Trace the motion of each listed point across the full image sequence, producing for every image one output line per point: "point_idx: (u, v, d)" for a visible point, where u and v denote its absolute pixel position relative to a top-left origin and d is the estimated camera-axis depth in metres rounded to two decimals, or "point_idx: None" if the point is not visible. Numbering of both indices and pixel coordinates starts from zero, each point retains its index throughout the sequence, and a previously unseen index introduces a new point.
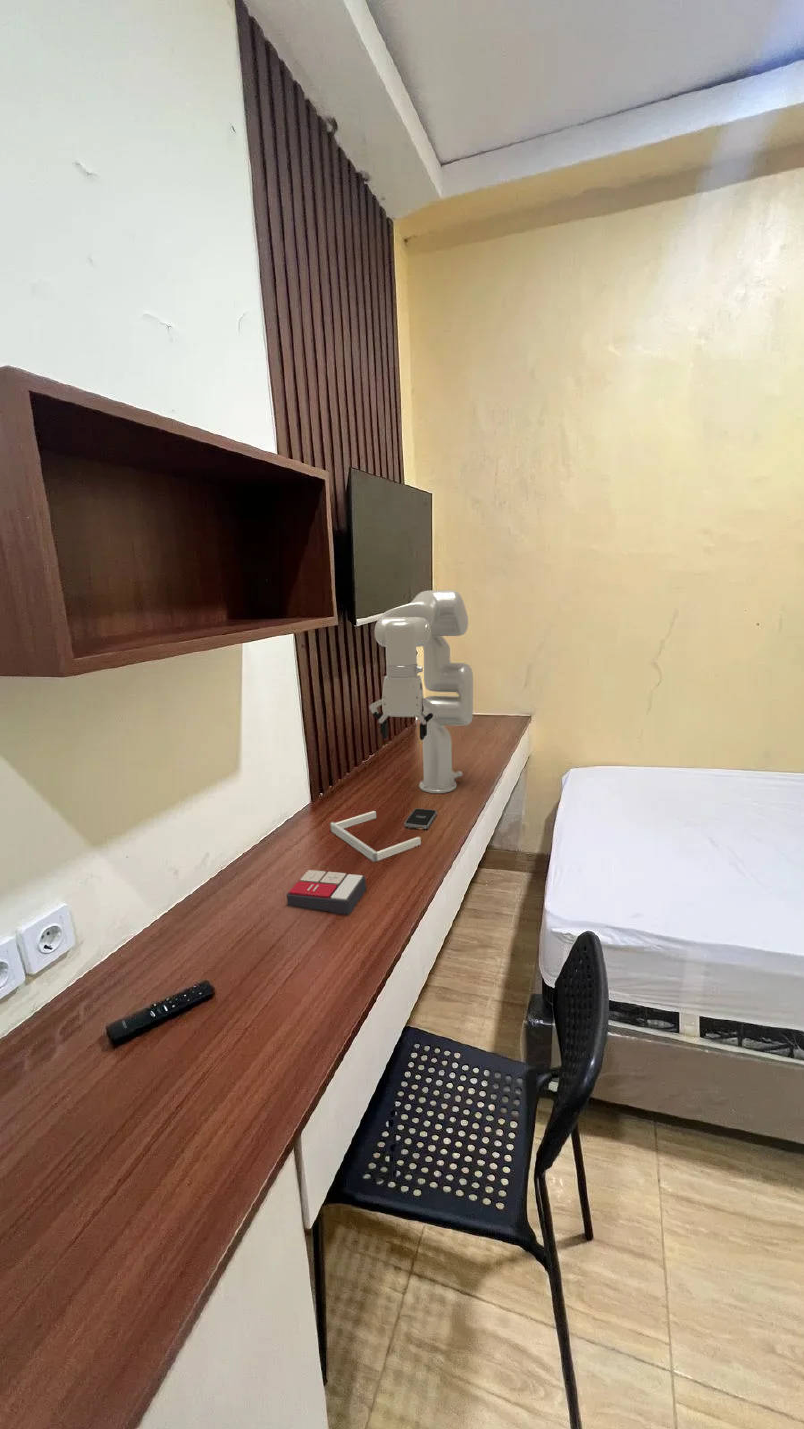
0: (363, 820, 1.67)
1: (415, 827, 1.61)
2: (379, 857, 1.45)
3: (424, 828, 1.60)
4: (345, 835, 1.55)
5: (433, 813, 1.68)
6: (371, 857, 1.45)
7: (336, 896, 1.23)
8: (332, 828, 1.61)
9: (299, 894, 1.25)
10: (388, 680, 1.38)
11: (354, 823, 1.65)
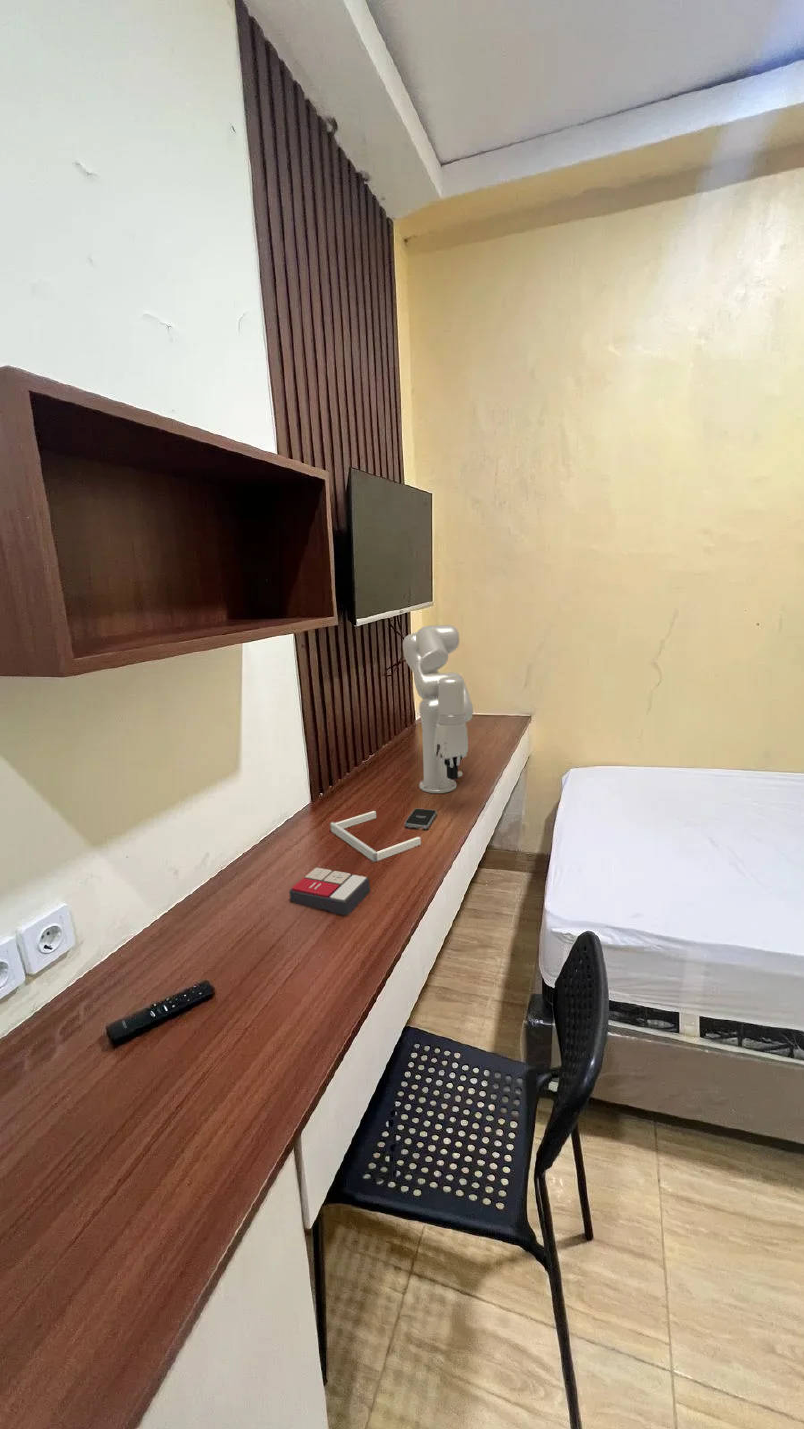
0: (363, 820, 1.67)
1: (415, 827, 1.61)
2: (379, 857, 1.45)
3: (424, 828, 1.61)
4: (345, 835, 1.55)
5: (433, 813, 1.68)
6: (371, 857, 1.45)
7: (335, 896, 1.23)
8: (332, 828, 1.61)
9: (301, 891, 1.27)
10: (448, 728, 1.63)
11: (354, 823, 1.65)
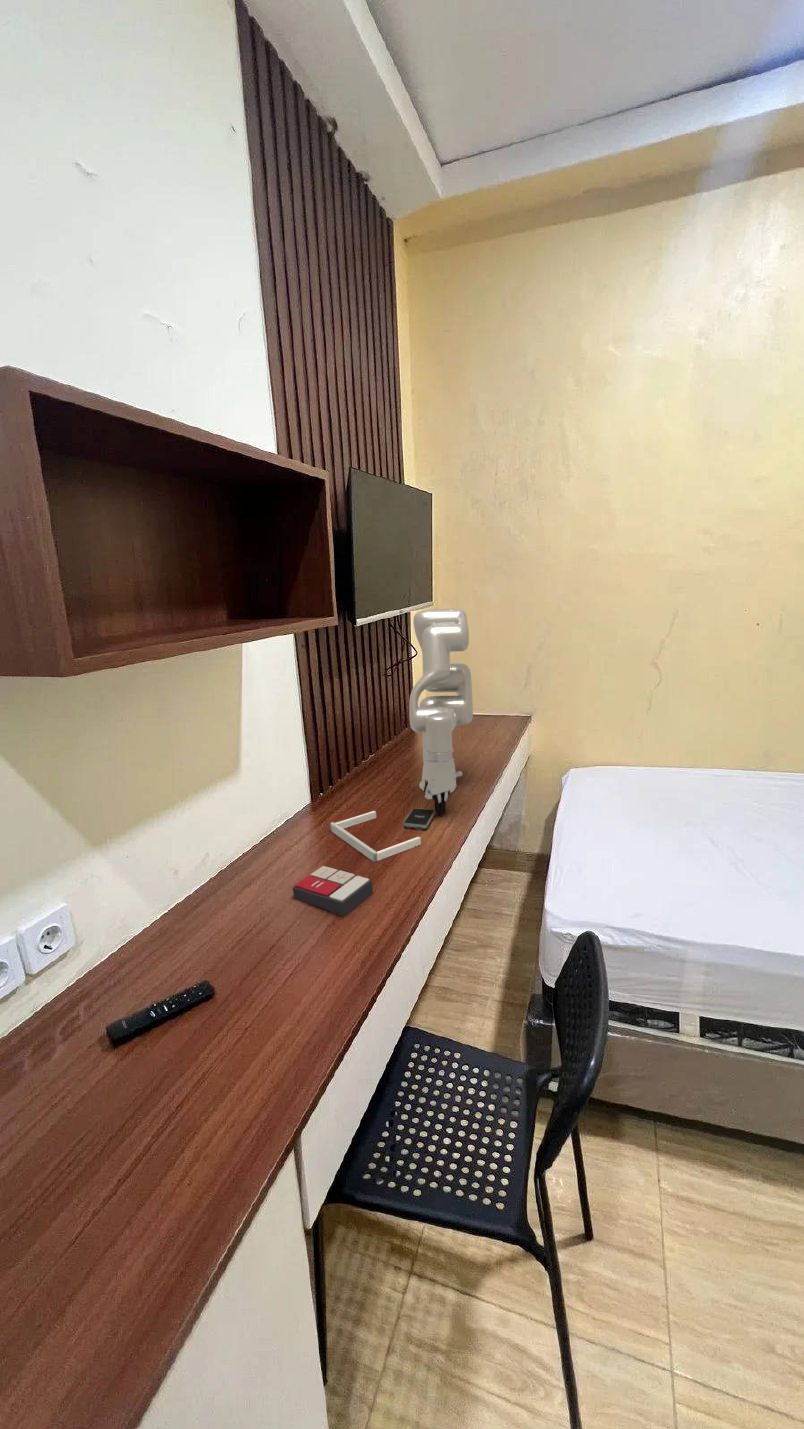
0: (363, 820, 1.67)
1: (414, 827, 1.61)
2: (379, 857, 1.45)
3: (423, 828, 1.60)
4: (345, 835, 1.55)
5: (431, 813, 1.68)
6: (371, 857, 1.45)
7: (334, 896, 1.23)
8: (332, 828, 1.61)
9: (303, 888, 1.28)
10: (436, 765, 1.63)
11: (354, 823, 1.65)
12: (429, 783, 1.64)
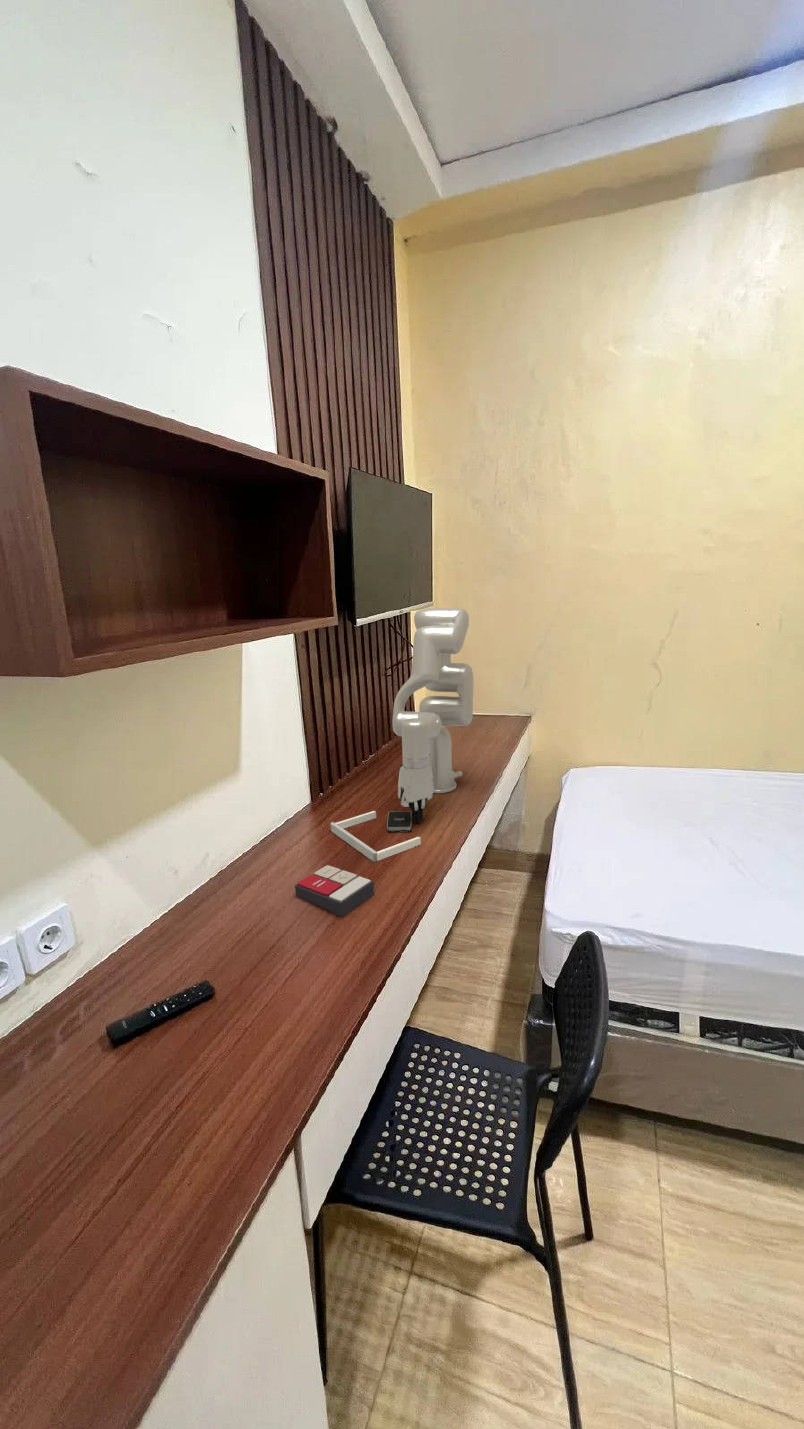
0: (363, 820, 1.67)
1: (398, 830, 1.60)
2: (379, 857, 1.45)
3: (408, 830, 1.60)
4: (345, 835, 1.55)
5: (409, 814, 1.68)
6: (371, 857, 1.45)
7: (333, 896, 1.23)
8: (332, 828, 1.61)
9: (304, 887, 1.28)
10: (412, 772, 1.58)
11: (354, 823, 1.65)
12: (405, 790, 1.59)
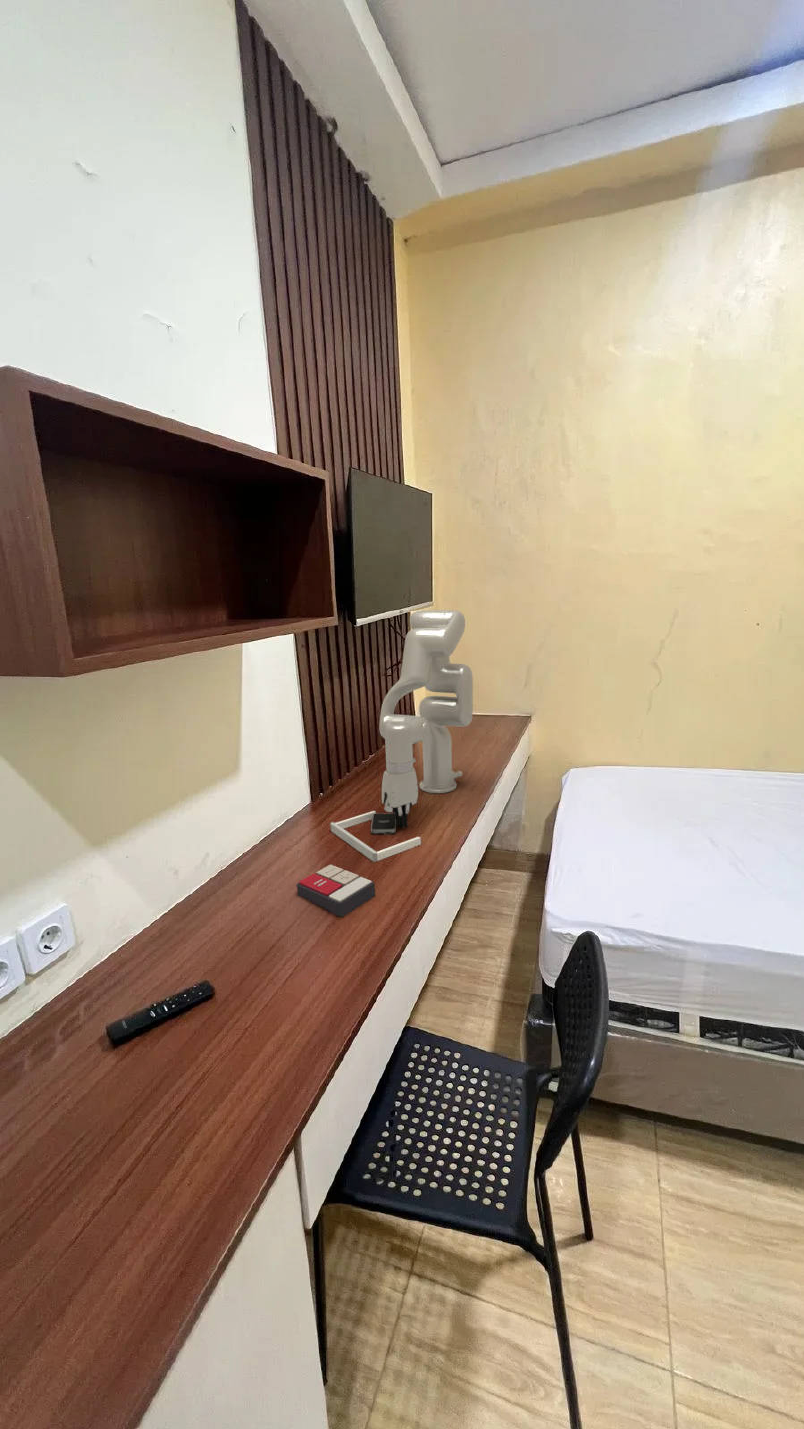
0: (363, 820, 1.67)
1: (382, 832, 1.59)
2: (379, 857, 1.45)
3: (392, 832, 1.59)
4: (345, 835, 1.55)
5: (394, 816, 1.67)
6: (371, 857, 1.45)
7: (333, 896, 1.23)
8: (332, 828, 1.61)
9: (306, 886, 1.29)
10: (396, 776, 1.55)
11: (354, 823, 1.65)
12: (388, 795, 1.56)
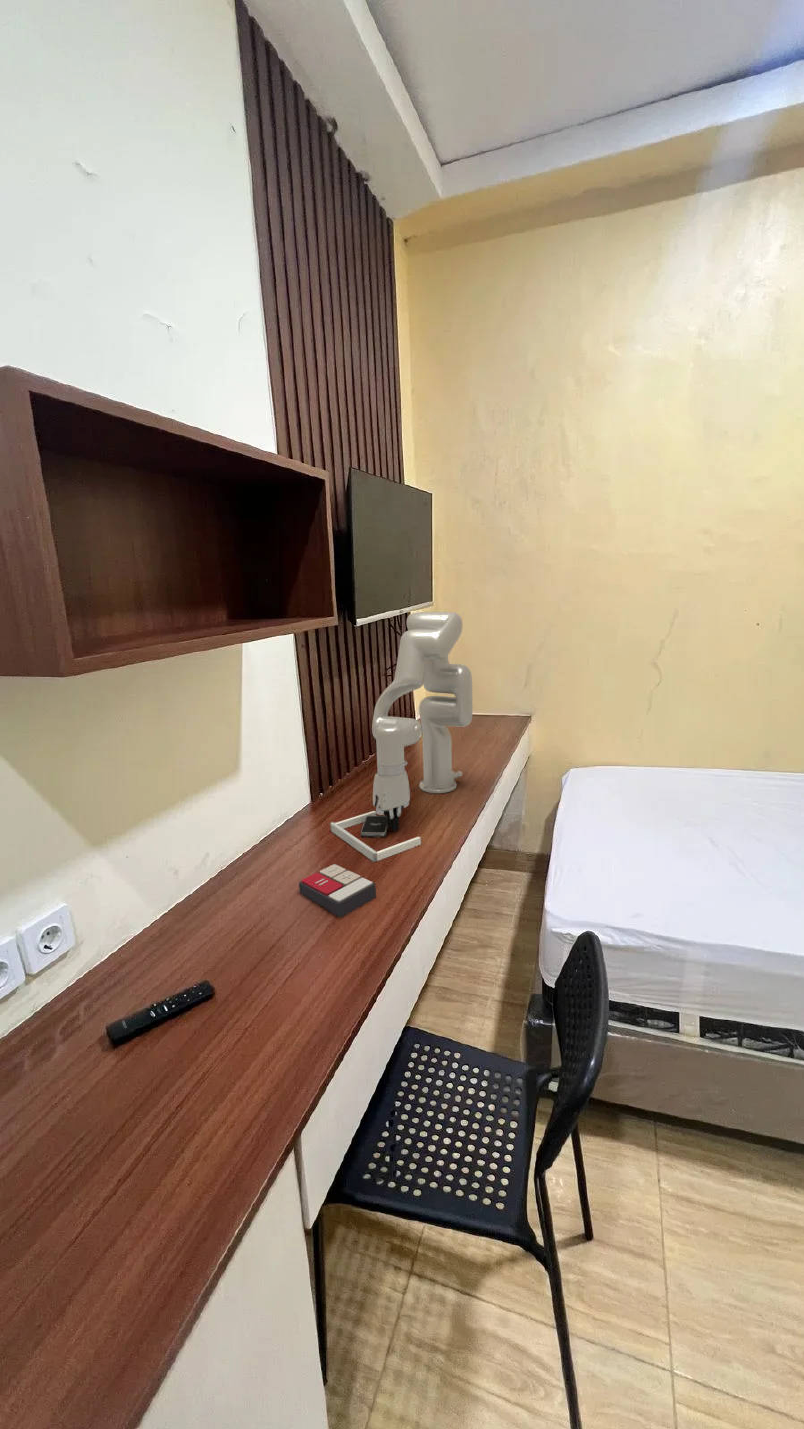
0: (363, 820, 1.67)
1: (372, 835, 1.57)
2: (379, 857, 1.45)
3: (382, 835, 1.57)
4: (345, 835, 1.55)
5: None
6: (371, 857, 1.45)
7: (332, 896, 1.23)
8: (332, 828, 1.61)
9: (307, 885, 1.29)
10: (387, 779, 1.53)
11: (354, 823, 1.65)
12: (379, 798, 1.54)
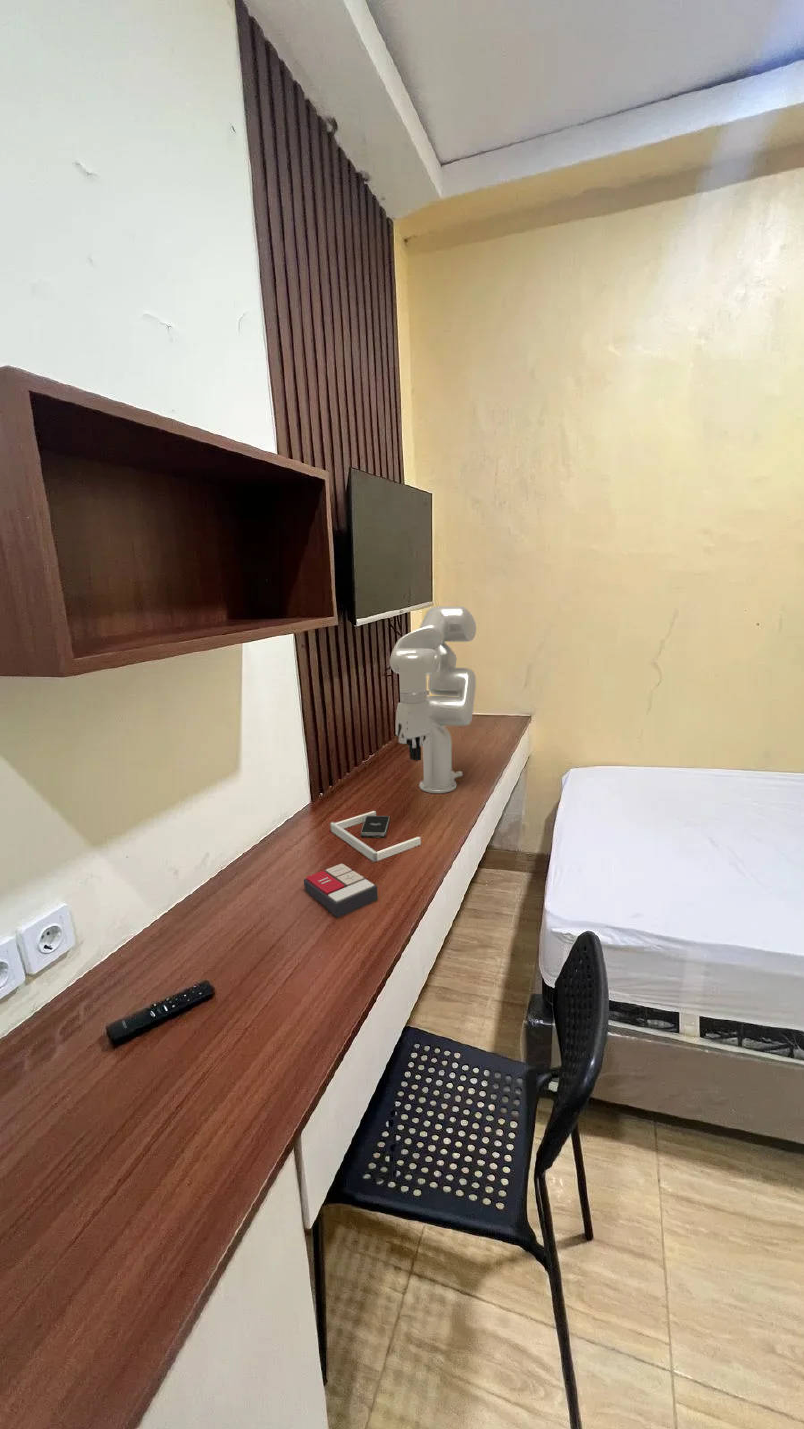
0: (363, 820, 1.67)
1: (372, 835, 1.57)
2: (379, 857, 1.45)
3: (382, 835, 1.57)
4: (345, 835, 1.55)
5: (387, 819, 1.65)
6: (371, 857, 1.45)
7: (331, 896, 1.23)
8: (332, 828, 1.61)
9: (311, 882, 1.30)
10: (410, 707, 1.55)
11: (354, 823, 1.65)
12: (403, 726, 1.55)
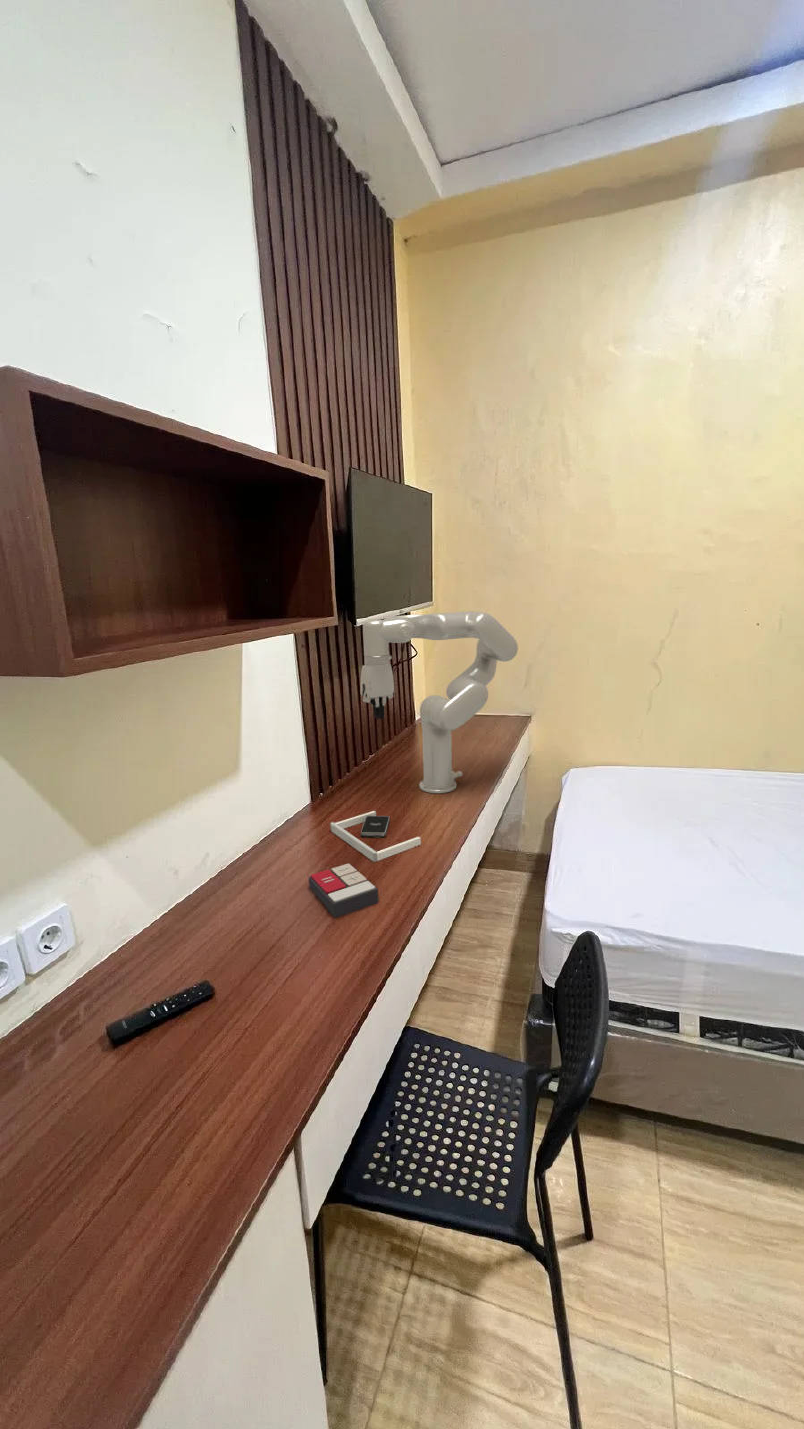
0: (363, 820, 1.67)
1: (372, 835, 1.57)
2: (379, 857, 1.45)
3: (382, 835, 1.57)
4: (345, 835, 1.55)
5: (387, 819, 1.65)
6: (371, 857, 1.45)
7: (331, 895, 1.23)
8: (332, 828, 1.61)
9: (314, 880, 1.31)
10: (372, 668, 1.70)
11: (354, 823, 1.65)
12: (366, 686, 1.71)
